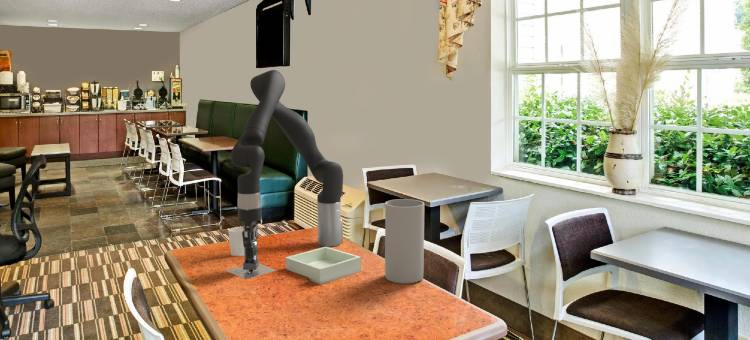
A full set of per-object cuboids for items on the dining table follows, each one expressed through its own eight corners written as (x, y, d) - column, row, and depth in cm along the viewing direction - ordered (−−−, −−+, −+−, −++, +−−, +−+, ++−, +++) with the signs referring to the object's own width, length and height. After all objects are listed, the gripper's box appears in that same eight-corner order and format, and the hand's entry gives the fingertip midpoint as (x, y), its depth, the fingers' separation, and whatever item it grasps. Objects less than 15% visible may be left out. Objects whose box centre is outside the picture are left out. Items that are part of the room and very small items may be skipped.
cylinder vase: (412, 287, 167) (412, 208, 164) (377, 280, 174) (377, 204, 170) (429, 275, 178) (430, 201, 174) (396, 269, 184) (397, 197, 181)
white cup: (225, 257, 197) (223, 231, 196) (238, 251, 205) (237, 226, 203) (242, 260, 195) (241, 233, 193) (255, 254, 202) (254, 228, 200)
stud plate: (256, 265, 188) (256, 256, 188) (276, 273, 180) (276, 264, 180) (225, 273, 180) (225, 264, 179) (245, 282, 172) (245, 272, 171)
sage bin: (325, 259, 195) (325, 246, 194) (361, 271, 182) (360, 256, 182) (285, 271, 182) (285, 257, 181) (320, 284, 169) (320, 269, 169)
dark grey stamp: (246, 265, 182) (246, 239, 181) (258, 265, 182) (258, 239, 181) (243, 269, 178) (243, 242, 176) (255, 269, 178) (255, 243, 176)
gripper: (242, 201, 184) (244, 250, 186) (232, 210, 170) (234, 263, 172) (264, 201, 184) (266, 250, 186) (256, 210, 170) (258, 262, 172)
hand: (251, 255), depth 179 cm, fingers closed on dark grey stamp, 4 cm apart
